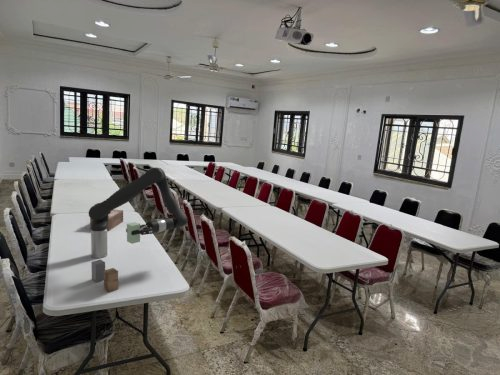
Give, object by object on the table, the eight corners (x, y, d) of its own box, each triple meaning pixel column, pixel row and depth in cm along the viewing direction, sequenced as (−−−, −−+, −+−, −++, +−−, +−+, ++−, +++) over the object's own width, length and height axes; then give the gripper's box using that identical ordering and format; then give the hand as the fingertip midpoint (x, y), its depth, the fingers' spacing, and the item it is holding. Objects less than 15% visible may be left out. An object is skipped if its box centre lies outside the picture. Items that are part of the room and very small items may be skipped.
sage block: (126, 241, 188) (126, 223, 186) (135, 239, 191) (135, 222, 189) (131, 243, 184) (131, 226, 182) (140, 241, 188) (140, 224, 186)
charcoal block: (91, 279, 184) (91, 261, 182) (100, 276, 187) (100, 259, 185) (96, 282, 180) (95, 264, 178) (105, 279, 184) (105, 262, 182)
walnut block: (104, 288, 175) (103, 270, 173) (113, 285, 178) (113, 267, 176) (108, 292, 171) (108, 273, 169) (118, 289, 175) (118, 271, 173)
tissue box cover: (108, 231, 260) (108, 218, 259) (90, 229, 261) (90, 217, 259) (123, 221, 286) (123, 210, 284) (106, 220, 286) (106, 208, 285)
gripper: (149, 217, 201) (122, 222, 189) (163, 222, 192) (135, 228, 179) (149, 229, 203) (122, 235, 190) (163, 235, 193) (135, 242, 181)
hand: (129, 231), depth 185 cm, fingers closed on sage block, 5 cm apart
